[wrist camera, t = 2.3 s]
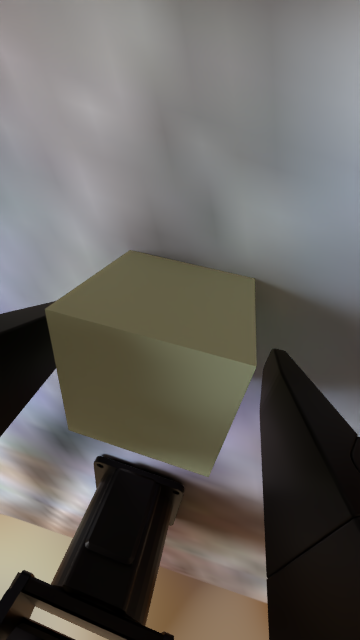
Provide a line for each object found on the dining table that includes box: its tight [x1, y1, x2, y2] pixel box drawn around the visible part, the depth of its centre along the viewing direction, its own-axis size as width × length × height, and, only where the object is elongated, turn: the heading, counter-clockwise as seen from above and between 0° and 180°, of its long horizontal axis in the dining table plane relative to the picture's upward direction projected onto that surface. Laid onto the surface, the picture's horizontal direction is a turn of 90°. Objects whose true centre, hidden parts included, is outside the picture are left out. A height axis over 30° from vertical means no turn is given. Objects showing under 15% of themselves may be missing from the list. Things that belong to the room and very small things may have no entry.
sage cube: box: [45, 250, 257, 477], centre depth 8 cm, size 4×4×4 cm
